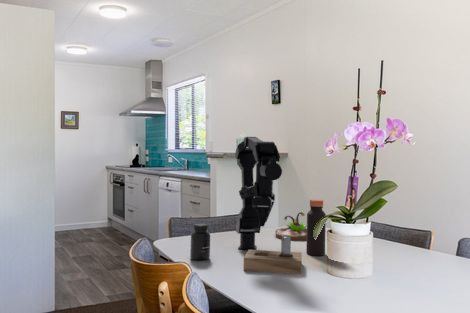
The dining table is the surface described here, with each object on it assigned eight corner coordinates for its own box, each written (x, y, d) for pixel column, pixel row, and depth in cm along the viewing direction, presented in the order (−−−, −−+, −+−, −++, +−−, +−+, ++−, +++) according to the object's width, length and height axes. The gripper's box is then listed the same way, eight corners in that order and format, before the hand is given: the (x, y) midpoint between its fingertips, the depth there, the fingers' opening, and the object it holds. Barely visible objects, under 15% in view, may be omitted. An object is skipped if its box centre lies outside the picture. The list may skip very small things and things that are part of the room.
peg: (281, 266, 146) (281, 236, 146) (290, 266, 146) (290, 236, 146) (280, 268, 143) (281, 237, 143) (290, 269, 143) (290, 238, 143)
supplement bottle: (207, 261, 151) (207, 226, 151) (187, 260, 152) (188, 225, 152) (212, 257, 158) (212, 223, 158) (193, 255, 159) (194, 222, 159)
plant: (321, 242, 188) (322, 216, 188) (275, 241, 190) (275, 214, 189) (317, 233, 208) (317, 209, 208) (275, 232, 210) (275, 208, 209)
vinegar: (302, 254, 164) (303, 200, 164) (312, 251, 169) (313, 198, 169) (318, 257, 160) (319, 201, 160) (328, 254, 165) (329, 200, 164)
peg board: (248, 261, 152) (248, 249, 152) (301, 264, 150) (301, 252, 150) (243, 270, 141) (243, 257, 141) (301, 273, 138) (301, 260, 138)
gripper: (244, 176, 162) (244, 219, 162) (236, 179, 143) (236, 227, 144) (275, 177, 160) (274, 220, 160) (271, 180, 142) (270, 229, 142)
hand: (263, 224), depth 151 cm, fingers open, 9 cm apart
